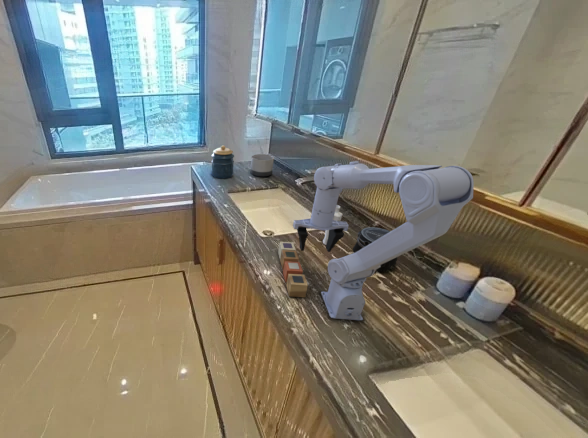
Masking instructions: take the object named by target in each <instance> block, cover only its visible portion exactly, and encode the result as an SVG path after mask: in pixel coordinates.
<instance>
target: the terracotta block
mask: <svg viewBox="0 0 588 438" xmlns="http://www.w3.org/2000/svg"><path fill="white" fill-rule="evenodd" d="M303 273H304V270H303V267H302V265H301V261H298V262H290V261H285V263H284V269H283V270H282V274H283V275H282V276H283V279H284V282H285V283H287V279H288V274H300V275H303Z"/></svg>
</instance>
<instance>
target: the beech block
mask: <svg viewBox="0 0 588 438" xmlns="http://www.w3.org/2000/svg"><path fill="white" fill-rule="evenodd" d="M279 261H280V266H281V269H282V271H283V269H284V263H285V261H290V262H300V259H299V255H298V253H297V250H296V251H288V250H282V254H281V260H280V259H279Z"/></svg>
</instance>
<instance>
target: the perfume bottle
mask: <svg viewBox="0 0 588 438" xmlns="http://www.w3.org/2000/svg"><path fill="white" fill-rule="evenodd" d="M341 208H342V206H340V205H338V204H337V206H336V210H335V214H334V218H333V220H336V221H342V218H343V214H344V213H342V212H341V211H340V209H341ZM328 236H329V230H324V238H323V239H322V243H323V245H325V246H326V244H327V240H328Z"/></svg>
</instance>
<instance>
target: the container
mask: <svg viewBox="0 0 588 438" xmlns="http://www.w3.org/2000/svg"><path fill="white" fill-rule="evenodd" d="M389 232H391V230H387V229H385V228H381V227H374V226H373V227H371V226H370V227H364V228H363V229H361V230H359V231H358V232H357V238H356V242H355V244H354V245H353V247H352V253H355V252H357V251H359V250H361V249H362V248H364V247H366V246H367V245H369V244H371V243H372V242H374V241H376V240H377V239H379V238H381V237H382V236H384V235H386V234H387V233H389ZM397 262H398V257H396V258H394V259H392V260H390V261H388V262H386V263H384V264H381V265H380V266H381V267H380V268H378V269H376V271H375V272H387V271H390V270H391V268H392V267H393V266H394V265H396V264H397Z"/></svg>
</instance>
